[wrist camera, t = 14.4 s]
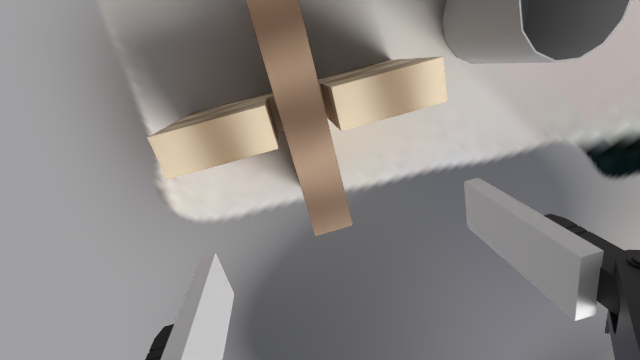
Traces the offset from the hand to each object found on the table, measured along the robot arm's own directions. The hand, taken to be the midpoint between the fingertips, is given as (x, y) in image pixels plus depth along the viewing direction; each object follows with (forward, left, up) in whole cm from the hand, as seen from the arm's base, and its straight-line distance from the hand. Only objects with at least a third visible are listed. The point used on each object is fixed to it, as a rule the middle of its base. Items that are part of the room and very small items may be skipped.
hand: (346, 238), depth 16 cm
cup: (+3, +21, -18) cm, 27 cm away
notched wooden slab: (-5, +2, -17) cm, 18 cm away
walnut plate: (-5, +3, -17) cm, 18 cm away
